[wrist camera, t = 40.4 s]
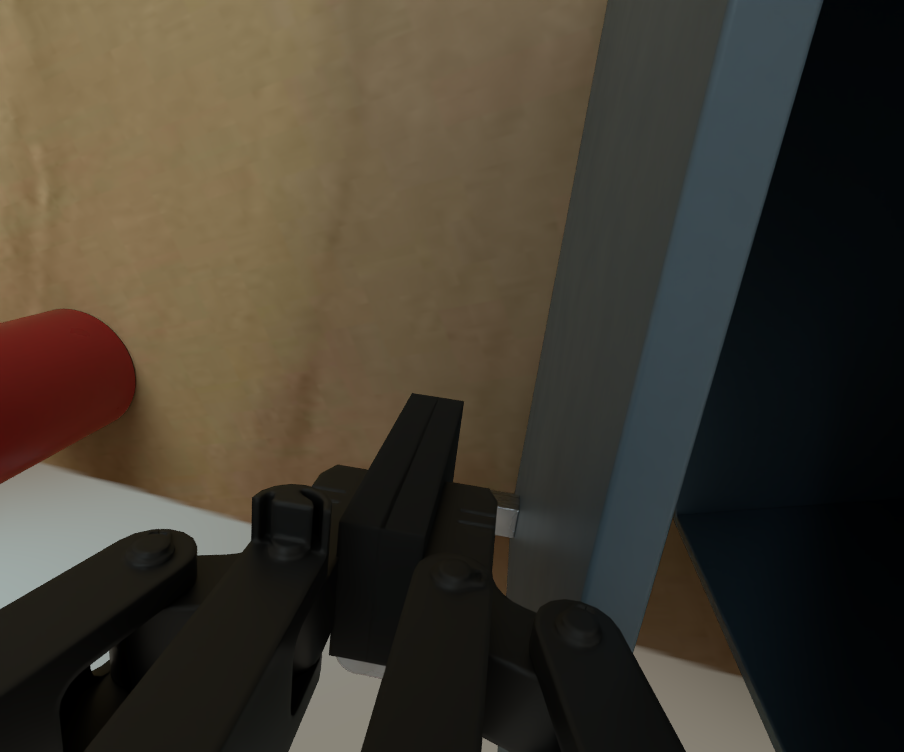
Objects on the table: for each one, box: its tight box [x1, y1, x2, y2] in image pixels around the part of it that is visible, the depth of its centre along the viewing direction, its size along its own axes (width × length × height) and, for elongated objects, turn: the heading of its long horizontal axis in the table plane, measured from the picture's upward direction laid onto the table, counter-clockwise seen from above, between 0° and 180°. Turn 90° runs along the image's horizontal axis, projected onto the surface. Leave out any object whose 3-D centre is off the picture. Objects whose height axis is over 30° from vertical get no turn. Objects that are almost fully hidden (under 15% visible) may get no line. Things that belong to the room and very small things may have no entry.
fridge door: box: [337, 0, 823, 752], centre depth 18 cm, size 6×24×19 cm, turn 172°
